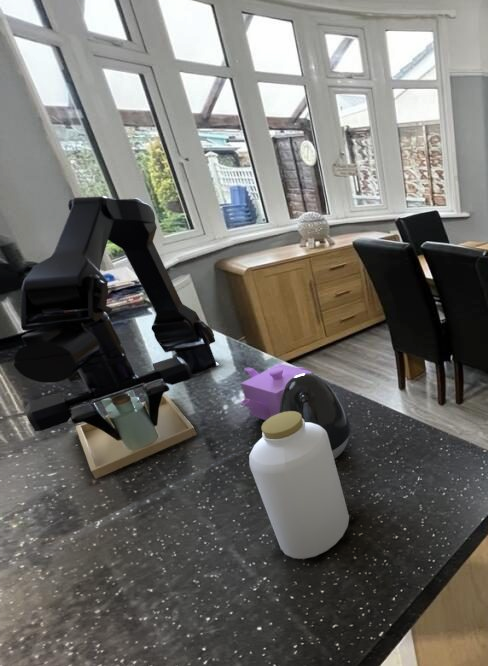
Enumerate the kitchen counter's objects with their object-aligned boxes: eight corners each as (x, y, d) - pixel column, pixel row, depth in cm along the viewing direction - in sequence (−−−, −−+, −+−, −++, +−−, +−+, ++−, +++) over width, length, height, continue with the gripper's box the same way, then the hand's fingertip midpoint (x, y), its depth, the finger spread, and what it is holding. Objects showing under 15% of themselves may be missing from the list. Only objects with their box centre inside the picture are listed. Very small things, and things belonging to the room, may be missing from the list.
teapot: (221, 425, 73) (203, 380, 69) (283, 389, 84) (271, 349, 80) (289, 450, 67) (273, 402, 63) (347, 407, 78) (337, 364, 74)
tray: (169, 401, 81) (166, 393, 80) (197, 436, 71) (193, 427, 70) (80, 435, 72) (75, 426, 71) (97, 481, 61) (91, 471, 60)
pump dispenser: (288, 487, 59) (259, 403, 53) (288, 446, 68) (264, 369, 62) (358, 463, 63) (340, 383, 57) (350, 427, 72) (333, 354, 66)
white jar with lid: (297, 510, 55) (262, 403, 48) (357, 505, 56) (331, 398, 49) (269, 566, 48) (221, 449, 40) (339, 560, 48) (305, 443, 41)
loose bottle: (155, 429, 70) (134, 387, 67) (161, 439, 68) (140, 395, 64) (122, 443, 67) (99, 399, 64) (128, 454, 65) (104, 408, 61)
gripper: (159, 319, 72) (189, 391, 78) (1, 359, 58) (53, 442, 65) (177, 334, 65) (208, 412, 72) (4, 382, 52) (61, 472, 58)
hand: (137, 432), depth 67 cm, fingers closed on loose bottle, 4 cm apart
